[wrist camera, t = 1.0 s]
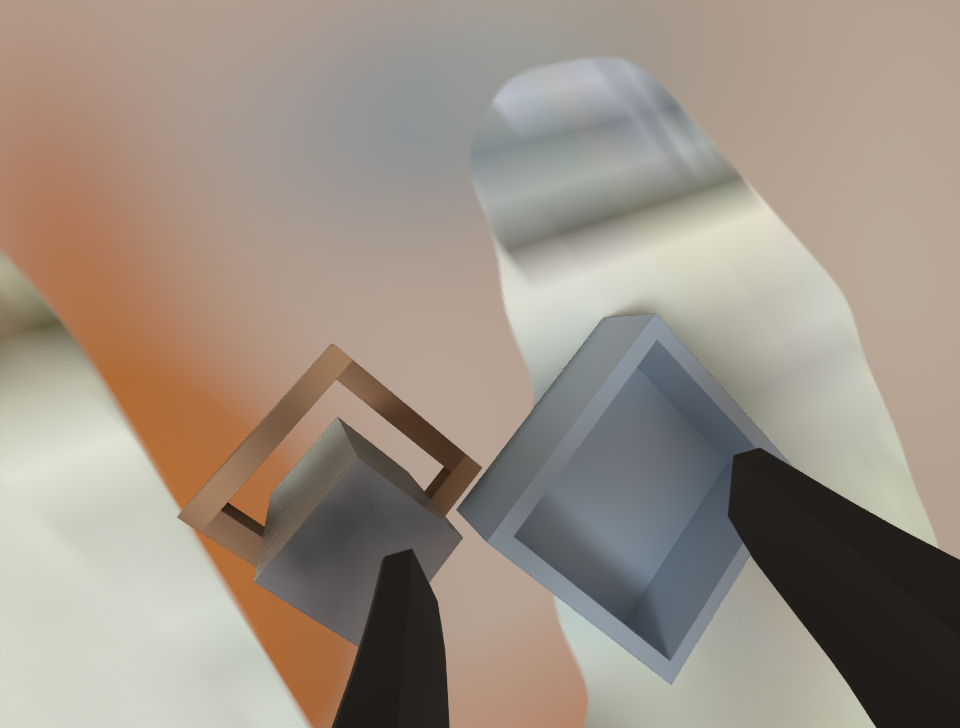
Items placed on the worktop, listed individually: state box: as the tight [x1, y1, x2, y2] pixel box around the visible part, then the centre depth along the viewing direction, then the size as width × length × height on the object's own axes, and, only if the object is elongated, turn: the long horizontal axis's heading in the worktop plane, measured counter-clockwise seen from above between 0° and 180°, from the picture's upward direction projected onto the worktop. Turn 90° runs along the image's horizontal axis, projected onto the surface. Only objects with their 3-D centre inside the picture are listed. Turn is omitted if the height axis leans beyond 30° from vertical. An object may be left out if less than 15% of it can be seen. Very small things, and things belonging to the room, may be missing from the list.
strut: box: [254, 417, 463, 647], centre depth 17 cm, size 4×4×8 cm
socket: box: [177, 344, 482, 568], centre depth 20 cm, size 8×8×1 cm
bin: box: [457, 313, 793, 685], centre depth 24 cm, size 12×12×4 cm
